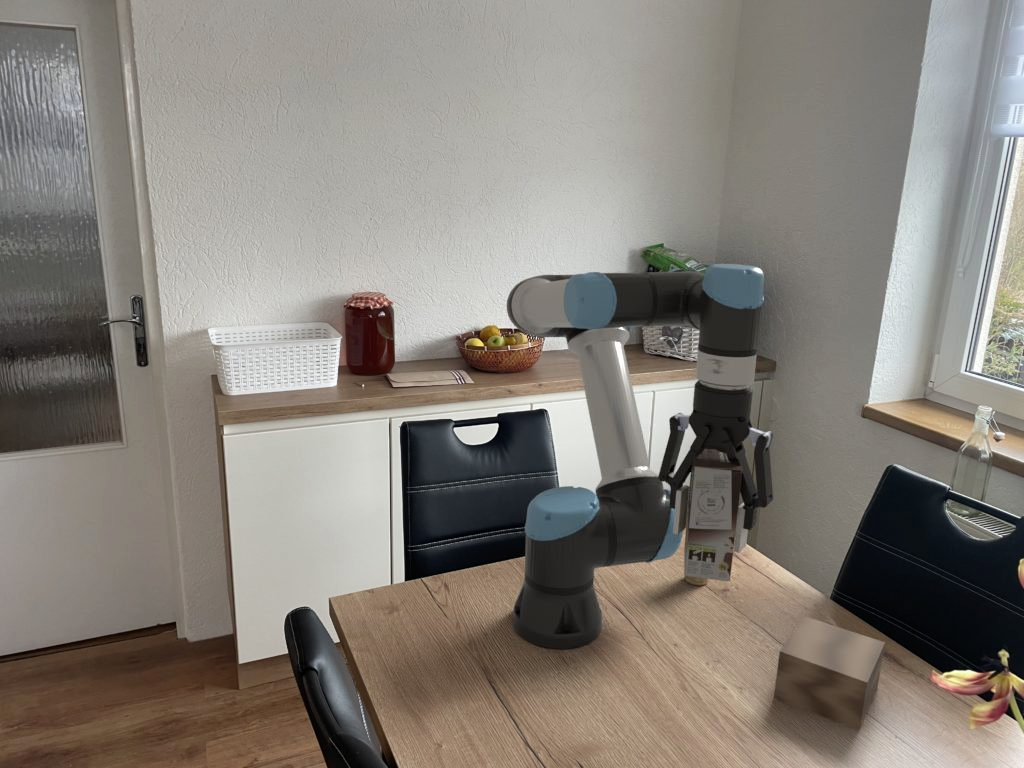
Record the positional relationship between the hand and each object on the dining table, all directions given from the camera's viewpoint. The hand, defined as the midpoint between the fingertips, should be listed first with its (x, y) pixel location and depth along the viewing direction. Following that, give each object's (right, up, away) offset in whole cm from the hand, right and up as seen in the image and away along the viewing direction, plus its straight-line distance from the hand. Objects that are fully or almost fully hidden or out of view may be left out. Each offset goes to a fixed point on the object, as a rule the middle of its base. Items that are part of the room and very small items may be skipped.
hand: (708, 539), depth 110 cm
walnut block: (+20, -25, +8) cm, 33 cm away
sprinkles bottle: (+8, -16, +40) cm, 44 cm away
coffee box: (0, -4, +1) cm, 4 cm away
